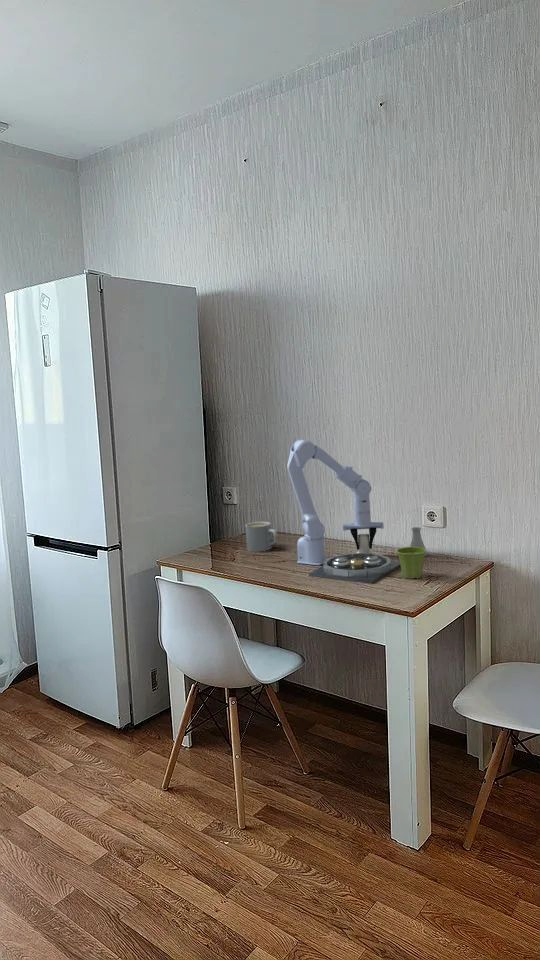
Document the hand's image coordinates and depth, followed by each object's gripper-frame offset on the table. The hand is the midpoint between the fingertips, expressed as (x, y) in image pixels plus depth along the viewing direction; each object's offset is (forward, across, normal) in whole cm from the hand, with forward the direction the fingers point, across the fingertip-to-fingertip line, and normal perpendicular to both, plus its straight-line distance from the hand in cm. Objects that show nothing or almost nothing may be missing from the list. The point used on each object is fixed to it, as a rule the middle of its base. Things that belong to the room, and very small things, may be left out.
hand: (364, 548), depth 249 cm
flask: (+3, -19, +2) cm, 19 cm away
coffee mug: (+3, +39, -18) cm, 43 cm away
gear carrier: (+3, +3, +18) cm, 18 cm away
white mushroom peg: (+3, 0, 0) cm, 3 cm away
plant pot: (+3, -14, +28) cm, 31 cm away
